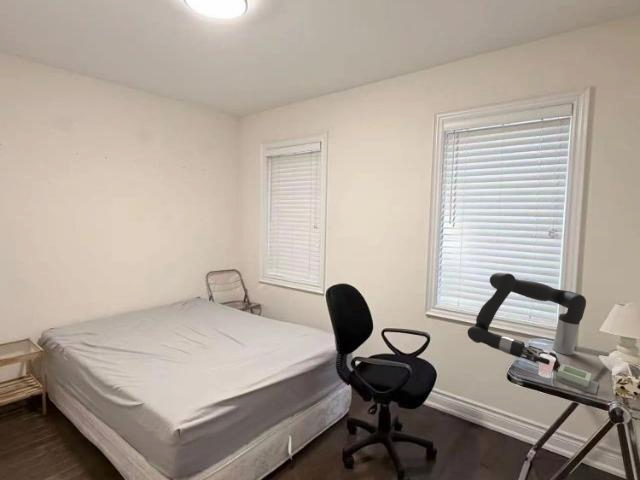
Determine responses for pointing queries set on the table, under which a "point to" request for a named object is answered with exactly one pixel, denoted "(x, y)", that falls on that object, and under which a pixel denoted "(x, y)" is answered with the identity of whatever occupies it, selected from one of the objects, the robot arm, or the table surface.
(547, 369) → the beverage cup
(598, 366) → the table surface
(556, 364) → the bolt
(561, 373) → the pale green square tray
